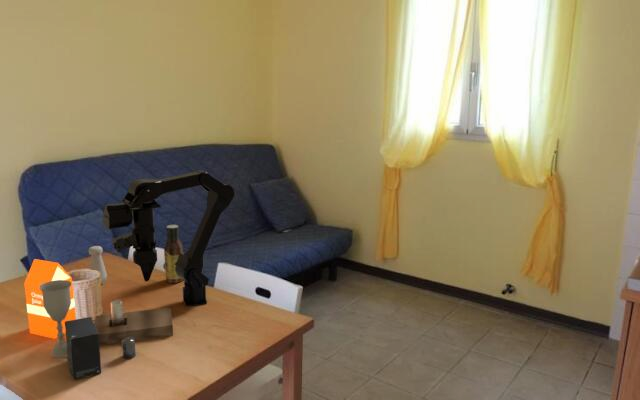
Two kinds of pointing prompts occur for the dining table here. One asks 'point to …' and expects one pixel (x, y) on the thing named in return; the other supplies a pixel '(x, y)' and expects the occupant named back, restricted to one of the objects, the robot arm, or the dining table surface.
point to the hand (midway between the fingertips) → (146, 275)
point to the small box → (82, 348)
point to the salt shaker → (97, 261)
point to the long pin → (117, 313)
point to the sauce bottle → (172, 253)
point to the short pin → (128, 347)
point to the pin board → (135, 326)
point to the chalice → (57, 309)
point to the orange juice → (35, 308)
